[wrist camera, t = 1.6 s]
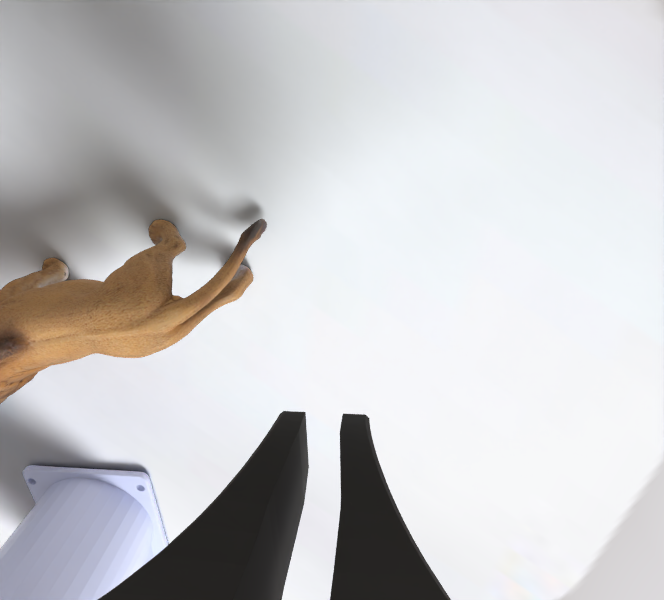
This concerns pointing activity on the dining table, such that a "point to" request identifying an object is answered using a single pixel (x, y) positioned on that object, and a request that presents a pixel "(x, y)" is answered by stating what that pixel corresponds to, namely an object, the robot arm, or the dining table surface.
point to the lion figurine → (109, 308)
